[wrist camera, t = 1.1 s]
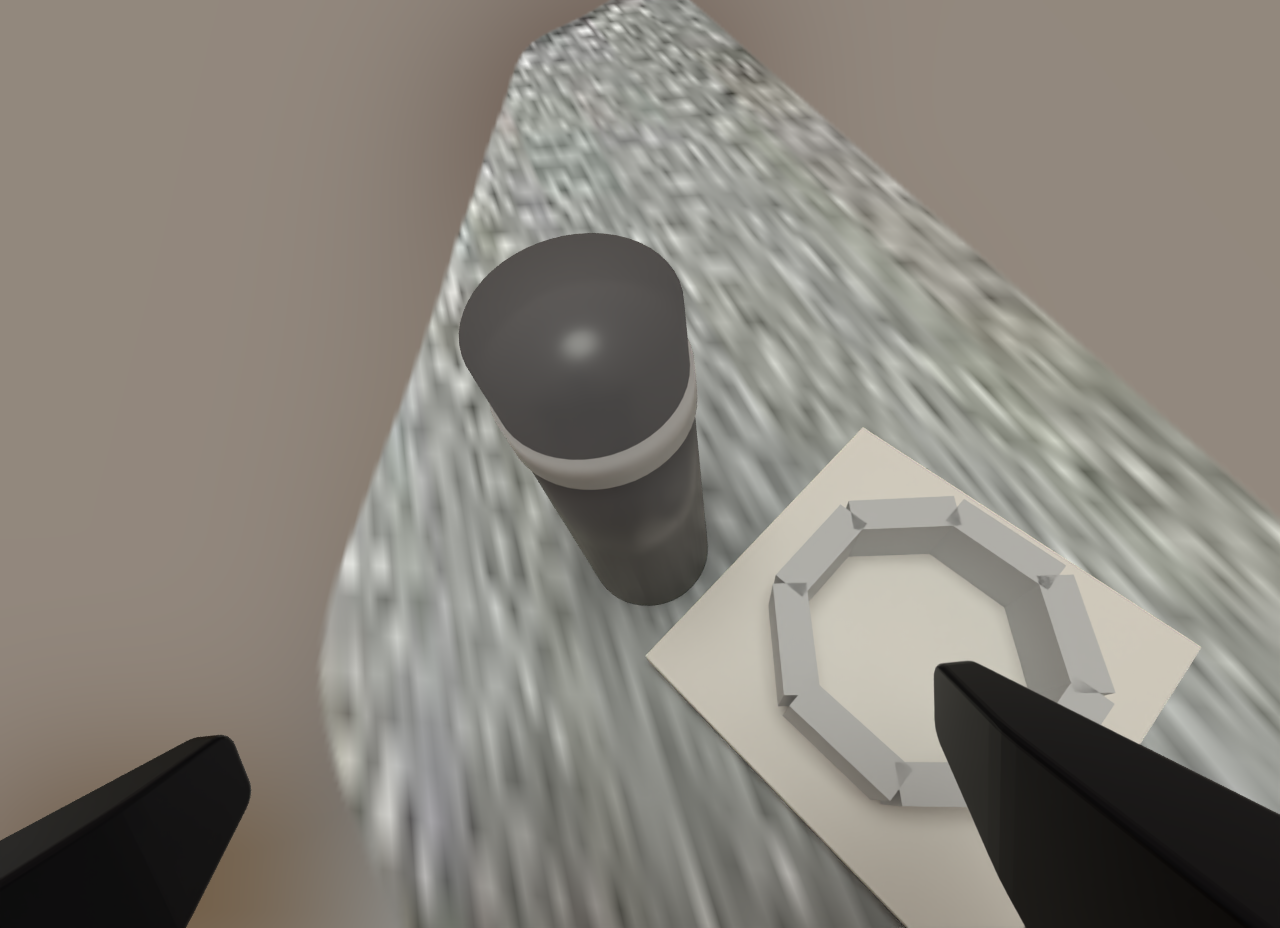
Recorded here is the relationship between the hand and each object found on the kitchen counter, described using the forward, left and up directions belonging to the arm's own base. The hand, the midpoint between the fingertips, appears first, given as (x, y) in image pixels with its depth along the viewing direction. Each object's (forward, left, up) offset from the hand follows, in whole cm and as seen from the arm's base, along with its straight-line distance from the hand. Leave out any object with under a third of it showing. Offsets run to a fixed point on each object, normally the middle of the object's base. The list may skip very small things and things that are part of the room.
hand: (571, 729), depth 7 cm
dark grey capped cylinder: (+6, -5, -14) cm, 15 cm away
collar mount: (-3, -8, -14) cm, 16 cm away
